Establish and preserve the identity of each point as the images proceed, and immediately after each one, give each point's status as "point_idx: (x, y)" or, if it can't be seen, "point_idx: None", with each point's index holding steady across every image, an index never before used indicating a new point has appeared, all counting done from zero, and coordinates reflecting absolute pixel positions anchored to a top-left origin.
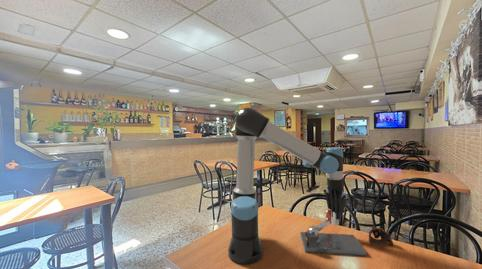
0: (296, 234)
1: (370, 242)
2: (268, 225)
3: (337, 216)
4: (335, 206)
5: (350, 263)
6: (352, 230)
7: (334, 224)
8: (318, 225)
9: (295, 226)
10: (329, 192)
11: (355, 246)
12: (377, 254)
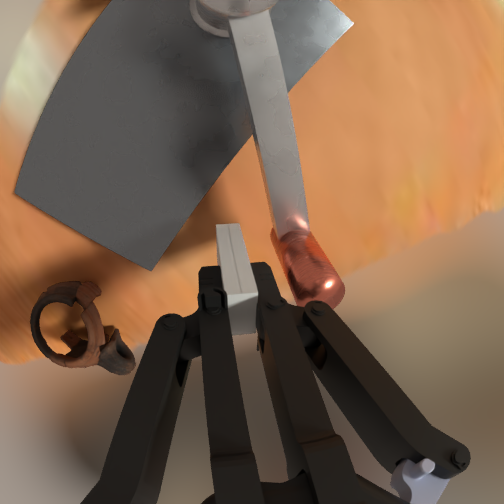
0: (367, 26)
1: (84, 284)
2: (482, 27)
3: (208, 285)
4: (231, 358)
5: (15, 71)
6: None
7: (225, 228)
8: (273, 77)
9: (424, 104)
10: (380, 495)
11: (55, 180)
12: (27, 237)
